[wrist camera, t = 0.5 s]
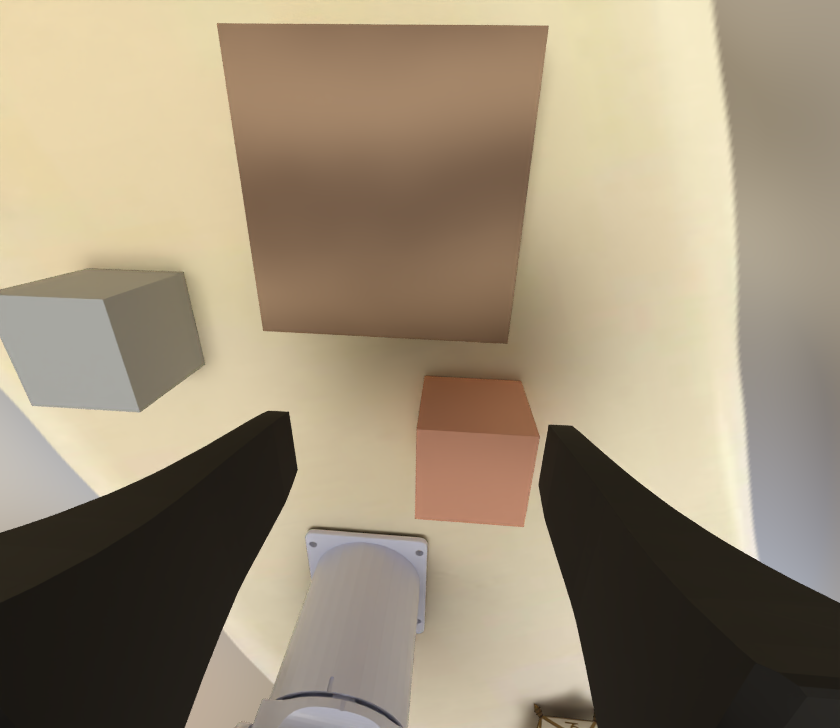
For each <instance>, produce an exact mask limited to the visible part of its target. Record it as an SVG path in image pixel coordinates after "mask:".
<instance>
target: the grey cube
mask: <svg viewBox="0 0 840 728" xmlns="http://www.w3.org/2000/svg"><path fill="white" fill-rule="evenodd" d="M0 338H1V340H2V342H3V344H4V346H5V349H6V351H7V353H8V355H9V357H10V359H11V362H12V364H13V366H14V368H15V370H16V372H17V374H18V377H19V379H20V381H21V383H22V385H23V387H24V390H25V392H26V394H27V396H28V398H29V400H30V403H31V405H32V406H45V407H61V408H78V409H94V410H110V411H126V412H141V411H143V410H144V409H145V408H147V407H148V406H149V405H151V404H152V403H153V402H155V401H156V400H157V399H159V398H160V397H161V396H163V395H164V394H166V393H167V392H168V391H170V390H171V389H172V388H174V387H175V386H176V385H178V384H179V383H180V382H182V381H183V380H185V379H186V378H187V377H189V376H190V375H191V374H193V373H194V372H195V371H197V370H198V369H199V368H201V367H202V366H203V365H205V362H204V357H203V353H202V349H201V345H200V340H199V336H198V332H197V328H196V323H195V319H194V315H193V311H192V306H191V302H190V298H189V294H188V289H187V285H186V281H185V277H184V272H166V271H139V270H112V269H84V270H79V271H75V272H71V273H67V274H63V275H59V276H55V277H50V278H46V279H42V280H38V281H34V282H30V283H25V284H21V285H17V286H13V287H9V288H5V289H1V290H0Z"/></svg>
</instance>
